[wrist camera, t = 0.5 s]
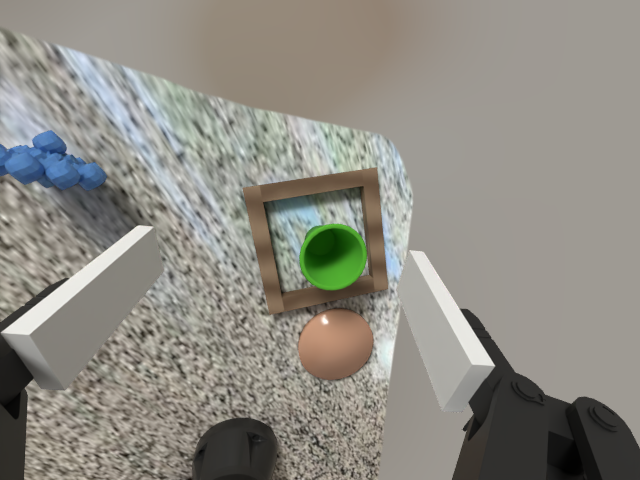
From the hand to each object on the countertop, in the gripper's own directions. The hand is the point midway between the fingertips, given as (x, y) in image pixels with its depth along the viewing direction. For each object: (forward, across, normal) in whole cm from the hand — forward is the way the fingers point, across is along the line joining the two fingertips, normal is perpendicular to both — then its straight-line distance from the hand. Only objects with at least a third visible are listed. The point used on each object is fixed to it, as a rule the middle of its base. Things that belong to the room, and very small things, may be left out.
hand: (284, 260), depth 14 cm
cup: (+27, -4, +14) cm, 31 cm away
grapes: (+26, +30, +5) cm, 40 cm away
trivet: (+22, -9, +33) cm, 40 cm away
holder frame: (+27, -4, +14) cm, 31 cm away
